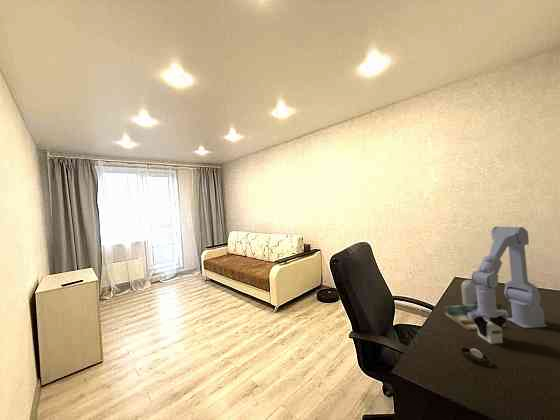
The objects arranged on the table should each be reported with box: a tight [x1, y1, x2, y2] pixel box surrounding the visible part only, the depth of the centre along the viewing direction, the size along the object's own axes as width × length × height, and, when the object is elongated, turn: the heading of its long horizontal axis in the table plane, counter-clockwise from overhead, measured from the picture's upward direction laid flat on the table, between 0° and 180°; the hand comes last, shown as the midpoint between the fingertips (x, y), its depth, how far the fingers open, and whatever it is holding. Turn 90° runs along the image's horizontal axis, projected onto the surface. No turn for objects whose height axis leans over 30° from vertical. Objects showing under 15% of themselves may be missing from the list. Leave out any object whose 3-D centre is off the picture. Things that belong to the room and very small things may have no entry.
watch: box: [461, 347, 490, 366], centre depth 79 cm, size 8×5×4 cm, turn 32°
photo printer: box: [460, 279, 477, 305], centre depth 120 cm, size 10×4×12 cm, turn 123°
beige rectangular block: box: [476, 320, 504, 345], centre depth 90 cm, size 4×6×6 cm
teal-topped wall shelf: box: [444, 303, 507, 331], centre depth 104 cm, size 16×14×4 cm
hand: (489, 334), depth 90 cm, fingers closed on beige rectangular block, 4 cm apart
